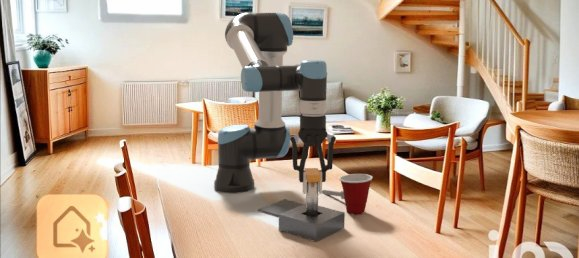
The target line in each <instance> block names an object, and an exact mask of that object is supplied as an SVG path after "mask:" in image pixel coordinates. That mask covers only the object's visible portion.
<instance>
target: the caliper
mask: <svg viewBox="0 0 579 258" xmlns="http://www.w3.org/2000/svg"><path fill="white" fill-rule="evenodd" d="M322 194H324V195H330V196H336V197H340V198H341V200H345V199H344V193H343V190H341V191H336V190H331V189H330V190H329V189H322Z"/></svg>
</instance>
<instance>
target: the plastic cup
mask: <svg viewBox="0 0 579 258" xmlns="http://www.w3.org/2000/svg"><path fill="white" fill-rule="evenodd" d="M373 178H374V177H373V175H370V174H367V173H351V174H350V173H349V174H344V175H342V176H340V177H339V178H338V180H339V181H340V182H341V184H340V185H341V186H342V191H343V193H344V199H343V200H344V202H345V209H346V212H347V214H349V215H350V214H351V215H357V216H358V215H363V214H364V213H365V211H366V207H367V206H366V205H367V202H368V198H369V197H368V196H369V192H370V187H371V182H372V180H373Z"/></svg>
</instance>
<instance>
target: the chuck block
mask: <svg viewBox="0 0 579 258" xmlns="http://www.w3.org/2000/svg"><path fill="white" fill-rule="evenodd" d="M303 204H304V205H301V206H299V207H296V208H294V209H291V210H289V211H286V212H283V213H281V214H279V217H278V231H280V232H283V233H285V234H290V235H293V236H295V237H300V238H303V239H306V240H309V241H312V242H315V243H318V242H319V241H321V240H324V239H325V238H327V237H329V236H331V235H334V234H336V233H338V232H340V231H342V230H344V229H345V214H346V213H345V211H340V210H336V209H332V208H328V207H324V206H321V205H318V216H315V217H311V216H307V215H306V203H303Z"/></svg>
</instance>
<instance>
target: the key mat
mask: <svg viewBox="0 0 579 258" xmlns="http://www.w3.org/2000/svg"><path fill="white" fill-rule="evenodd" d="M304 204H305V203H300V202H298V201H293V200H291V199H286V198H284V199H281V200H279V201H275V202H273V203H270V204H268V205H265V206H262V207H260V208H257V211H258V212H260V213H264V214H267V215H270V216H271V215H272V216H275V217H278V218H279V214H281V213H283V212H286V211H289V210H291V209H294V208H296V207H299V206H301V205H304Z"/></svg>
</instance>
